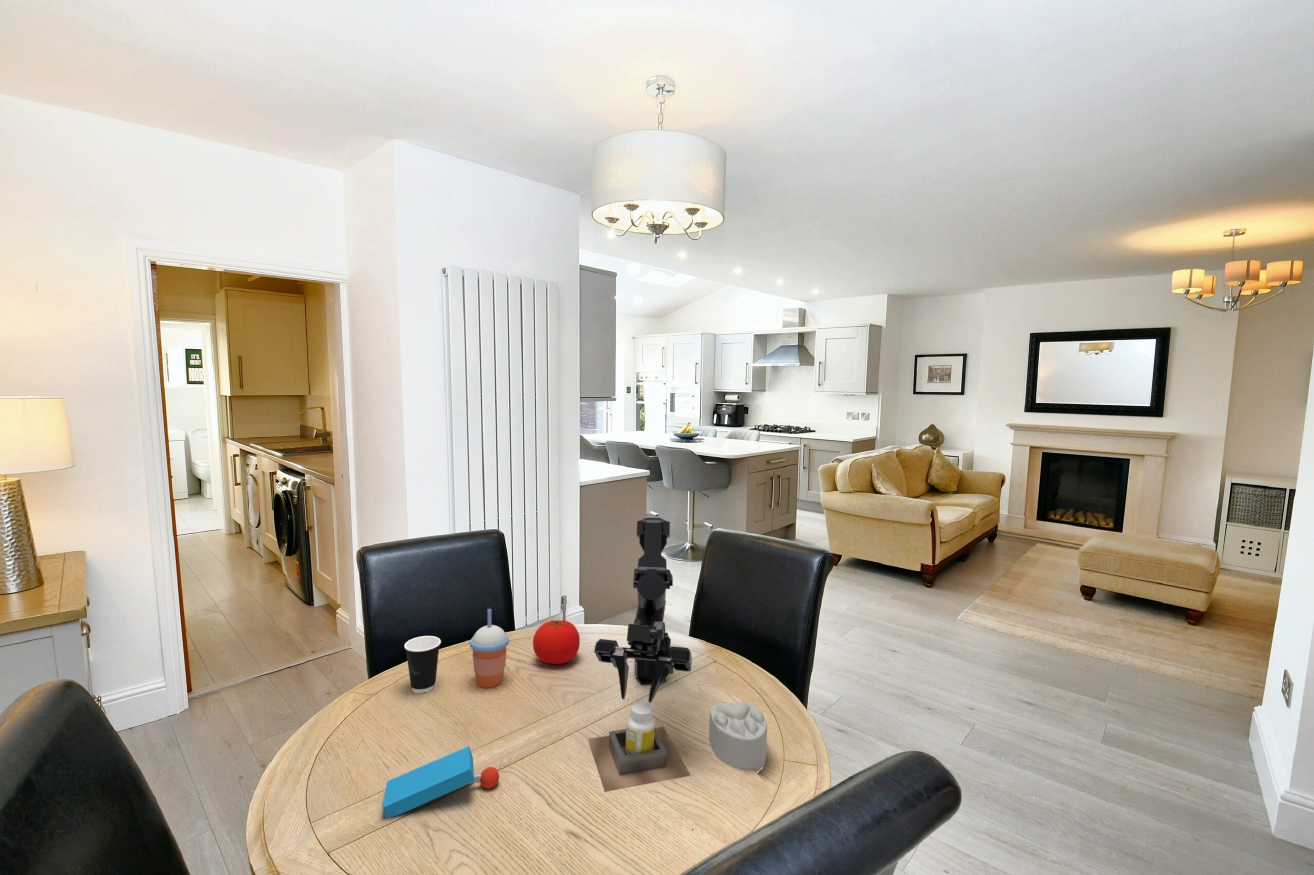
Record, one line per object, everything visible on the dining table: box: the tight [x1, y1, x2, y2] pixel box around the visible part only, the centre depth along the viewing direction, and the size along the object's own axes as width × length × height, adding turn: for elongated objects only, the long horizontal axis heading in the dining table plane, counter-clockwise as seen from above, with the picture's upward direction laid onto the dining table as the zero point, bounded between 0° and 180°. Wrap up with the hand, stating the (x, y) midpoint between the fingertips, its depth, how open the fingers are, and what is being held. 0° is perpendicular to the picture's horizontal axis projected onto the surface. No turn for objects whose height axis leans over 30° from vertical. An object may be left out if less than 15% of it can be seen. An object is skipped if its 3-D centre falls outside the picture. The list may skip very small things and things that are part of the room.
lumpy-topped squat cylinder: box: [708, 700, 768, 773], centre depth 116 cm, size 10×13×9 cm
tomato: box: [532, 619, 581, 665], centre depth 154 cm, size 12×12×10 cm
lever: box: [382, 745, 500, 819], centre depth 103 cm, size 7×7×18 cm
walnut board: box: [587, 726, 692, 793], centre depth 113 cm, size 16×16×1 cm
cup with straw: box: [469, 608, 510, 689], centre depth 142 cm, size 9×9×18 cm
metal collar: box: [608, 728, 667, 775], centre depth 113 cm, size 9×9×3 cm
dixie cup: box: [404, 635, 442, 694], centre depth 138 cm, size 8×8×11 cm
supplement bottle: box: [625, 701, 656, 755], centre depth 112 cm, size 5×5×10 cm
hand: (636, 700), depth 111 cm, fingers open, 5 cm apart
